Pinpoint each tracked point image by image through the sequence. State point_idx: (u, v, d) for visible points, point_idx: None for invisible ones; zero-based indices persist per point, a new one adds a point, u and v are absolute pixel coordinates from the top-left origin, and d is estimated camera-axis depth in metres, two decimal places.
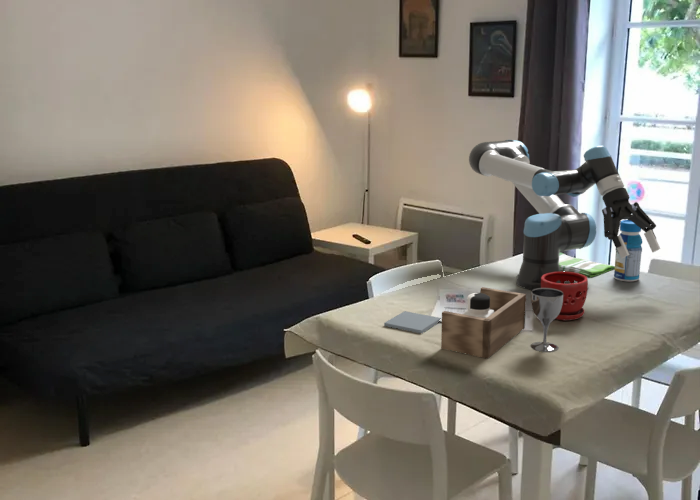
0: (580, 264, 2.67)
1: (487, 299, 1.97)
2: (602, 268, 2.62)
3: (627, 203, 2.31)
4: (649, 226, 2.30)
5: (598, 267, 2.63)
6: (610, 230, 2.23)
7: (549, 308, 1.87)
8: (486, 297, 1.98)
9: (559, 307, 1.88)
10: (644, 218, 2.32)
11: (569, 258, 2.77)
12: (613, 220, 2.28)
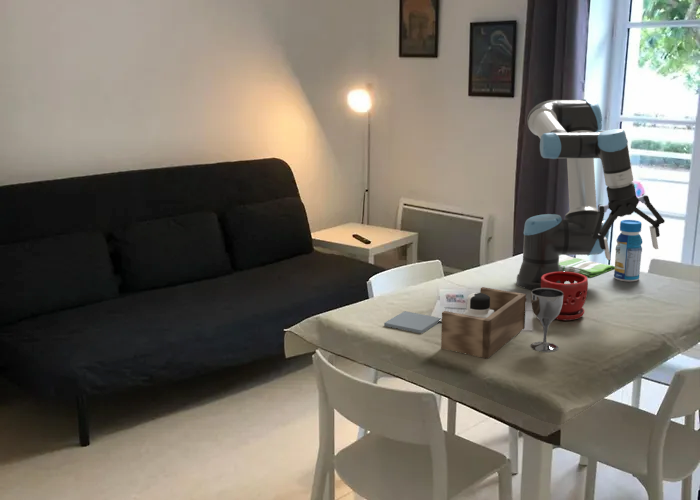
0: (580, 264, 2.67)
1: (487, 299, 1.97)
2: (602, 268, 2.62)
3: (632, 199, 2.10)
4: (653, 223, 2.12)
5: (598, 267, 2.63)
6: (594, 234, 2.14)
7: (549, 308, 1.87)
8: (486, 297, 1.98)
9: (559, 307, 1.88)
10: (652, 212, 2.12)
11: (569, 258, 2.77)
12: (609, 217, 2.14)
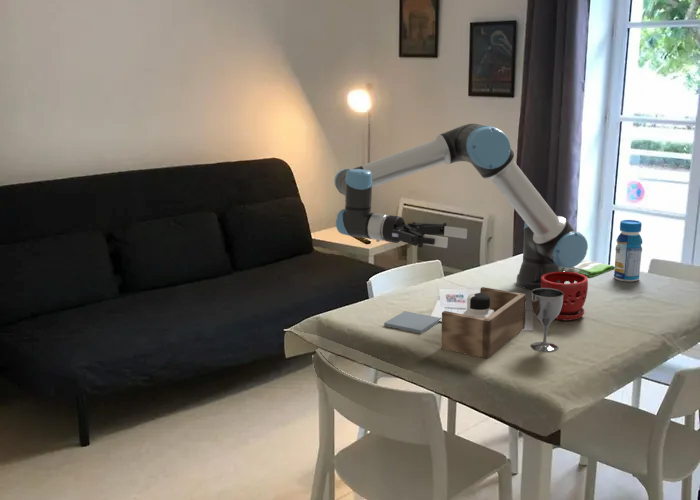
0: (579, 264, 2.68)
1: (487, 299, 1.97)
2: (602, 268, 2.62)
3: None
4: None
5: (597, 267, 2.63)
6: None
7: (549, 308, 1.87)
8: (486, 297, 1.98)
9: (559, 307, 1.88)
10: None
11: None
12: None
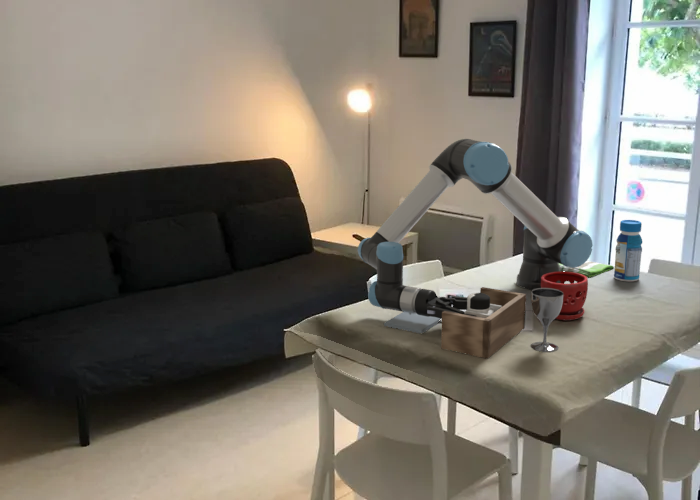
0: None
1: (487, 299, 1.97)
2: (601, 268, 2.62)
3: None
4: None
5: (597, 267, 2.63)
6: None
7: (549, 308, 1.87)
8: (486, 297, 1.98)
9: (559, 307, 1.88)
10: None
11: None
12: None
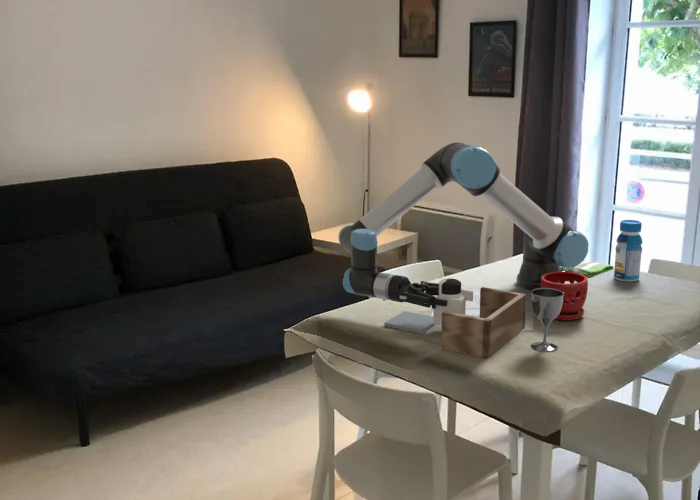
0: None
1: (458, 284, 2.00)
2: (600, 268, 2.62)
3: None
4: None
5: (596, 267, 2.64)
6: None
7: (549, 308, 1.87)
8: (457, 282, 2.00)
9: (559, 307, 1.88)
10: None
11: None
12: None
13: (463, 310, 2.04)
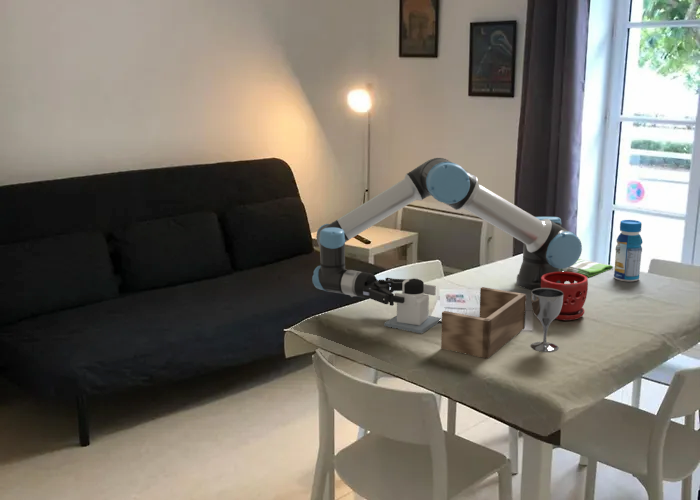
0: (578, 264, 2.68)
1: (420, 284, 2.08)
2: (600, 268, 2.62)
3: None
4: None
5: (596, 267, 2.64)
6: None
7: (549, 308, 1.87)
8: (419, 282, 2.08)
9: (559, 307, 1.88)
10: None
11: None
12: None
13: (426, 309, 2.11)
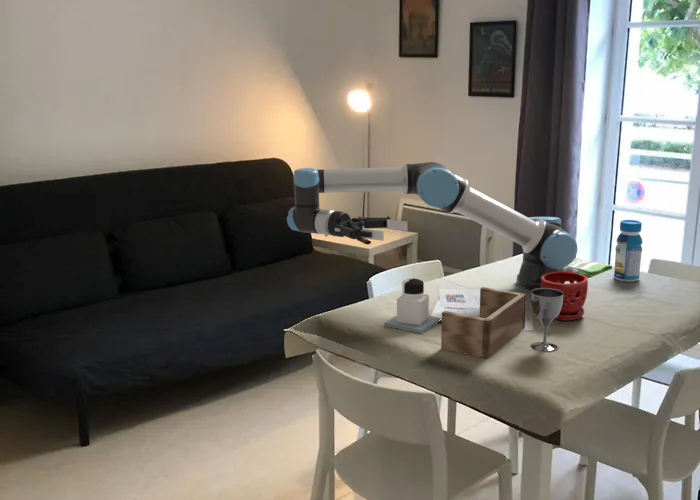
0: (577, 264, 2.68)
1: (420, 284, 2.08)
2: (599, 267, 2.62)
3: None
4: None
5: (595, 267, 2.64)
6: None
7: (549, 308, 1.87)
8: (419, 282, 2.08)
9: (559, 307, 1.88)
10: None
11: None
12: None
13: (426, 309, 2.11)
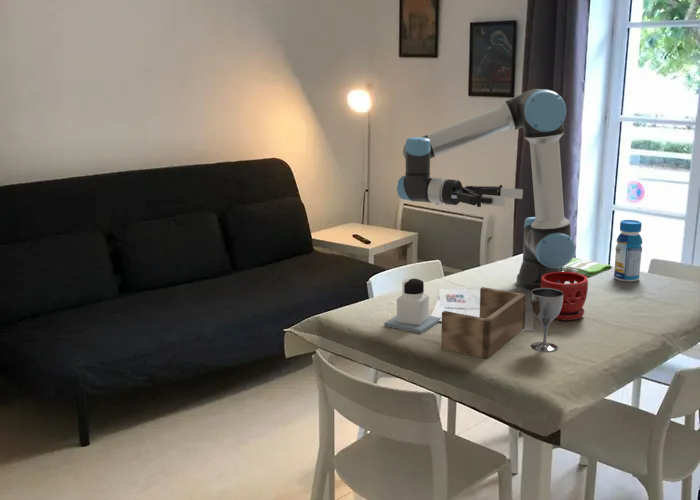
0: (577, 264, 2.68)
1: (420, 284, 2.08)
2: (599, 267, 2.62)
3: None
4: None
5: (595, 266, 2.64)
6: None
7: (549, 308, 1.87)
8: (419, 282, 2.08)
9: (559, 307, 1.88)
10: None
11: None
12: None
13: (426, 309, 2.11)
